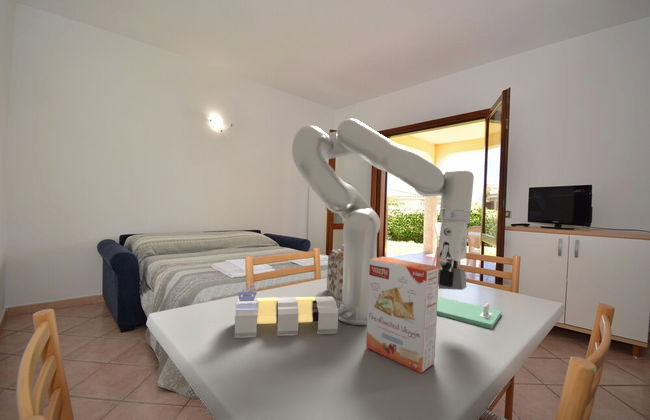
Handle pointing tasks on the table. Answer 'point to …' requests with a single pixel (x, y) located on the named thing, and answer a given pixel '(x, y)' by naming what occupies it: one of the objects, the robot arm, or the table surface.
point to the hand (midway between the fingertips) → (448, 283)
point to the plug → (456, 279)
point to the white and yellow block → (284, 313)
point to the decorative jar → (335, 272)
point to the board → (468, 312)
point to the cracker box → (403, 311)
